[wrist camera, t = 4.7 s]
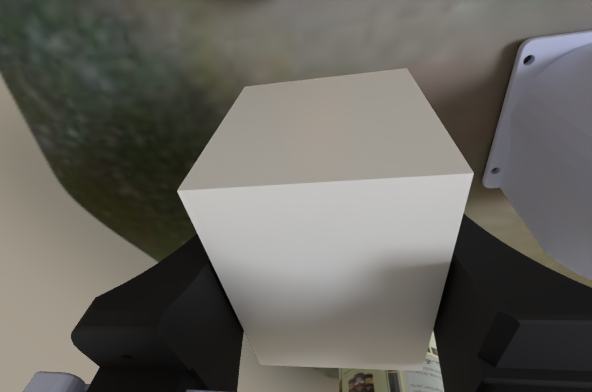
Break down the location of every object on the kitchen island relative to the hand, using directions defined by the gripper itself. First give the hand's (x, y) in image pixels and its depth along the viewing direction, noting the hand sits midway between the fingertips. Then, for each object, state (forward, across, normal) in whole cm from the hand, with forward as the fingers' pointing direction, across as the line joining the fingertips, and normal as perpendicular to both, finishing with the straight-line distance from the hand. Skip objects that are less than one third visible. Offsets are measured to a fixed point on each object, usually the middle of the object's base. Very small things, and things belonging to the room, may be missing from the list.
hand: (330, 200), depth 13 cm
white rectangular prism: (+2, 0, 0) cm, 2 cm away
